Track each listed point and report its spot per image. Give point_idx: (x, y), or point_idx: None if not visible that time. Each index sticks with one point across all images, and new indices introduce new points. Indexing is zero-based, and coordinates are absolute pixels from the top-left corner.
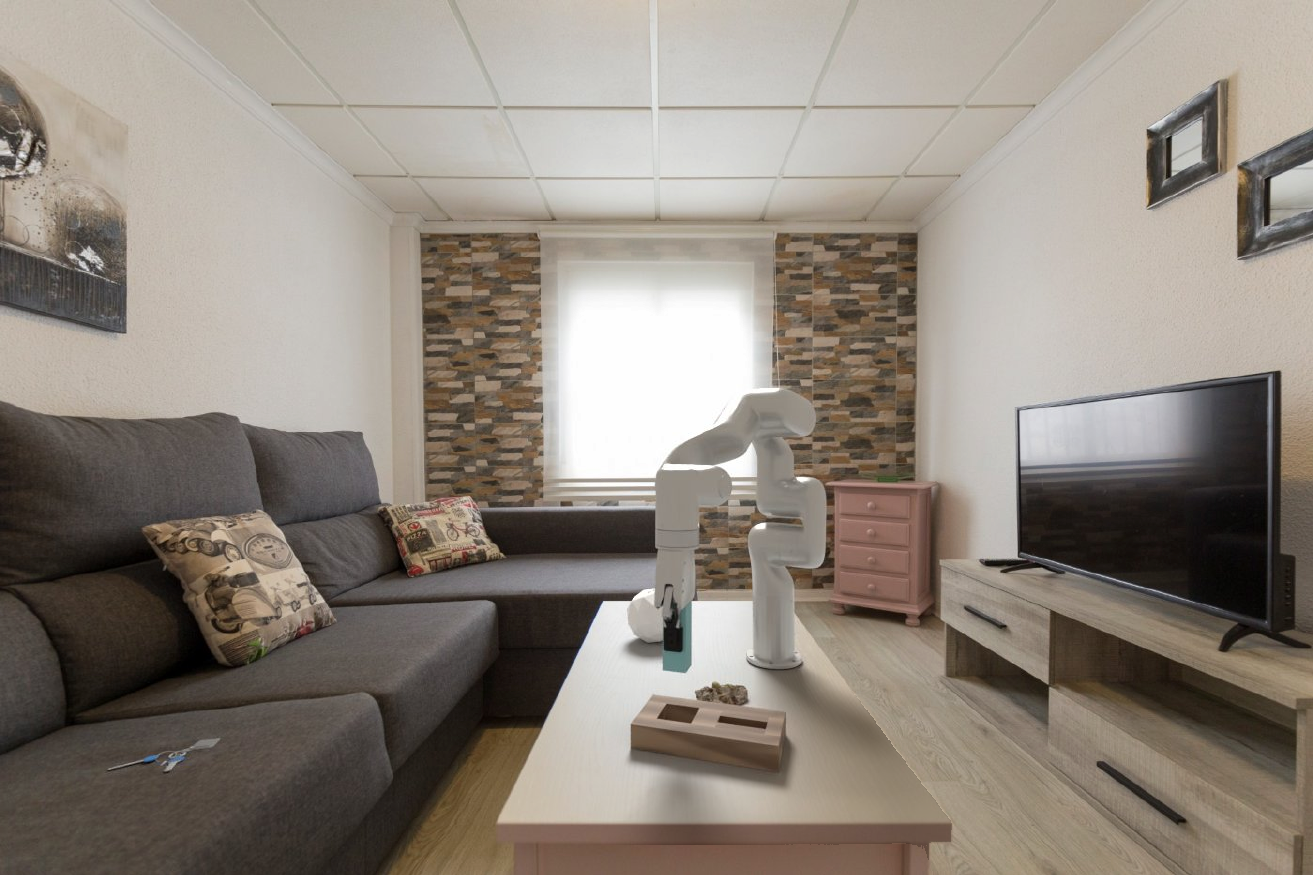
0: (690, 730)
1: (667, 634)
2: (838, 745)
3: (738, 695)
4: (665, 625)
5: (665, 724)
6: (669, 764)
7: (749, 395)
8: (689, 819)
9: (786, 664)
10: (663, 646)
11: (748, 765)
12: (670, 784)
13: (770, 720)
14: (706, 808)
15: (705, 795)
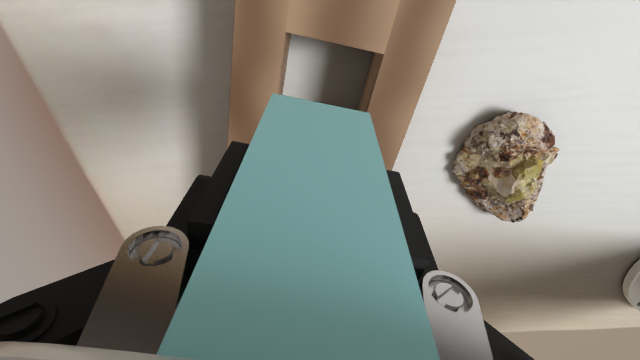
0: (239, 125)
1: (173, 215)
2: None
3: (490, 204)
4: (131, 251)
5: (257, 62)
6: (208, 63)
7: None
8: (57, 110)
9: (629, 291)
10: (253, 140)
11: None
12: (139, 70)
13: None
14: (98, 135)
15: (132, 133)
